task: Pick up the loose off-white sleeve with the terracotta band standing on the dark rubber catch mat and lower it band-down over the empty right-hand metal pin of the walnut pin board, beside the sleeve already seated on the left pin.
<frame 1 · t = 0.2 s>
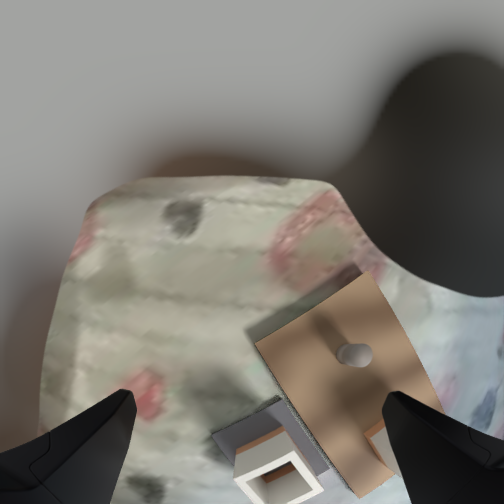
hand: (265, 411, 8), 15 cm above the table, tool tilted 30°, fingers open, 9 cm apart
sleeve seated: (392, 434, 18), point 1 cm above the table, touching pin board
sleeve loose: (272, 456, 19), resting on catch mat
catch mat: (272, 454, 19), on the table
pin board: (366, 395, 21), on the table
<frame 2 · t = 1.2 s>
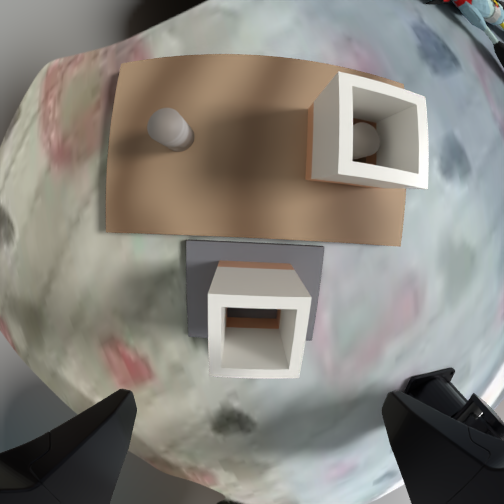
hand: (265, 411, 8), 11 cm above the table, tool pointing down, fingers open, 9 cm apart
sleeve seated: (342, 148, 16), point 1 cm above the table, touching pin board
sleeve loose: (253, 295, 18), resting on catch mat
catch mat: (253, 293, 19), on the table
pin board: (261, 142, 17), on the table
toy: (474, 16, 13), on the table
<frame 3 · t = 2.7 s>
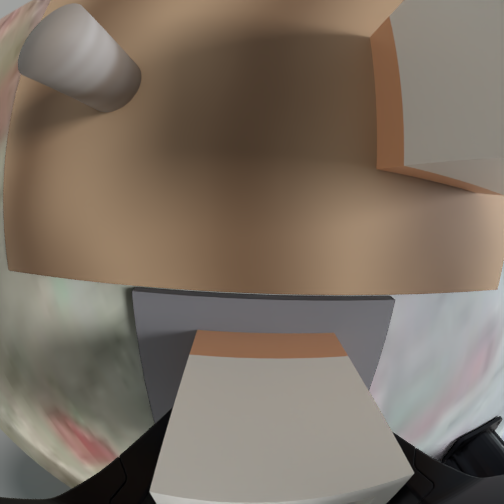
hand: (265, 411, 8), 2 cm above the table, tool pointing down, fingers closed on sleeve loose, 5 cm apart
sleeve seated: (433, 114, 6), point 1 cm above the table, touching pin board
sleeve loose: (262, 385, 9), resting on catch mat, touching gripper
catch mat: (261, 379, 10), on the table
pin board: (280, 93, 7), on the table
when the fingers open (3 cm above the table, at t = 6.2 s): sleeve loose stays where it is, resting on pin board.
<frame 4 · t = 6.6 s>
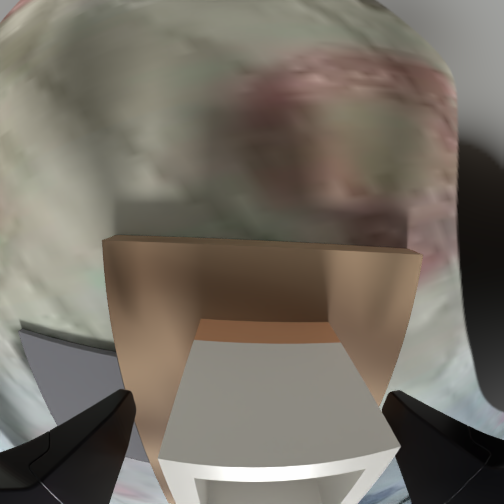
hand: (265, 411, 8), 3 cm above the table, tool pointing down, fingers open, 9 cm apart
sleeve loose: (261, 372, 10), point 1 cm above the table, touching pin board
catch mat: (84, 403, 12), on the table
pin board: (254, 429, 12), on the table
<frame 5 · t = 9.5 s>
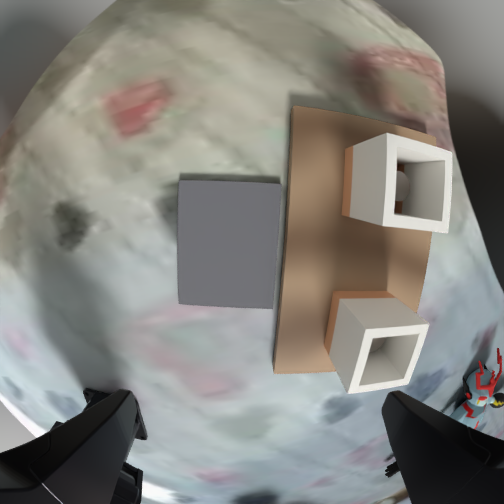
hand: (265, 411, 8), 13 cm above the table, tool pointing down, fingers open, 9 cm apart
sleeve seated: (356, 318, 20), point 1 cm above the table, touching pin board
sleeve loose: (373, 185, 17), point 1 cm above the table, touching pin board
catch mat: (227, 245, 19), on the table
pin board: (360, 252, 20), on the table
toy: (452, 420, 27), on the table
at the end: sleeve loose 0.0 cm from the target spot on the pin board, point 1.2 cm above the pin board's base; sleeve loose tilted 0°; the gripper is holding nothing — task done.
